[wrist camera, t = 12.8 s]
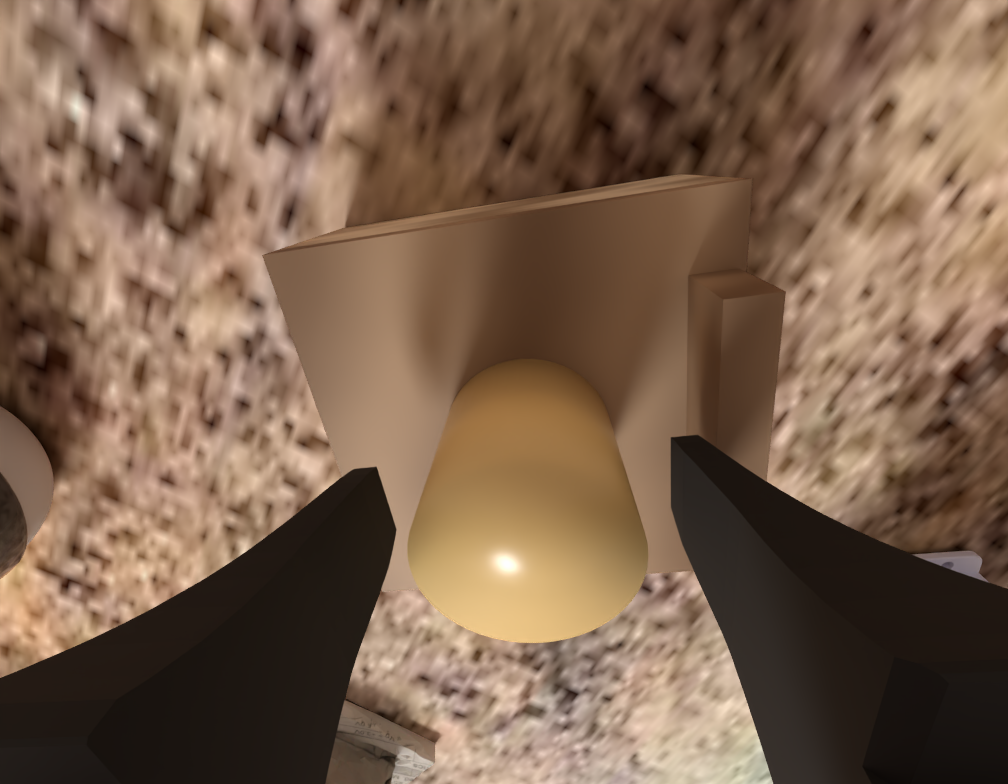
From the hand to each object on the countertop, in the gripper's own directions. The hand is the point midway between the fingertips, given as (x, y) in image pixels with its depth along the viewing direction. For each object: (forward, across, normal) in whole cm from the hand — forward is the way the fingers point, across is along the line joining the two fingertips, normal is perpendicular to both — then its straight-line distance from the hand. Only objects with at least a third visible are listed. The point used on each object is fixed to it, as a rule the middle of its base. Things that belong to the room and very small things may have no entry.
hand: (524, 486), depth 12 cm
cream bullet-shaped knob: (+3, 0, 0) cm, 3 cm away
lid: (+3, 0, 0) cm, 3 cm away
